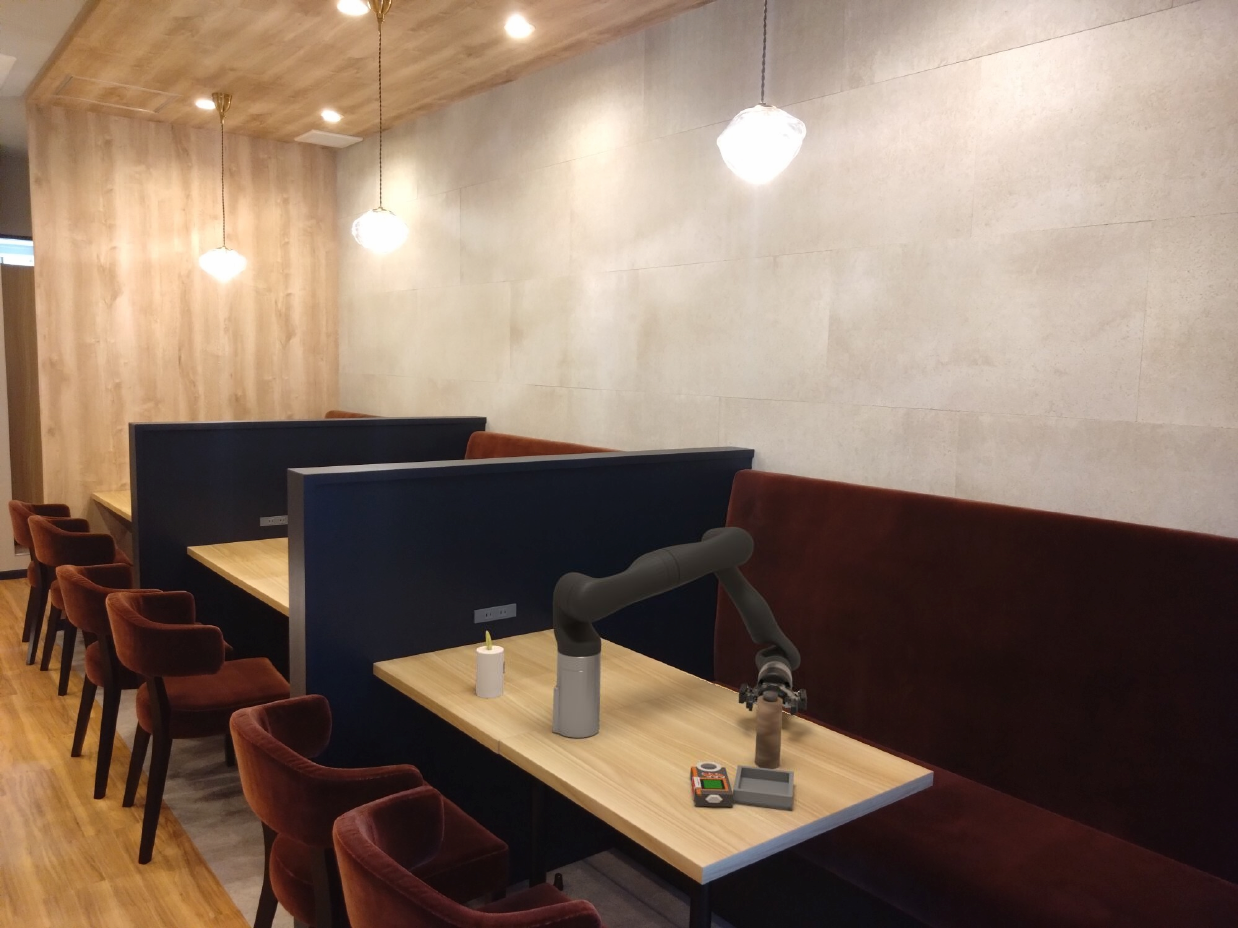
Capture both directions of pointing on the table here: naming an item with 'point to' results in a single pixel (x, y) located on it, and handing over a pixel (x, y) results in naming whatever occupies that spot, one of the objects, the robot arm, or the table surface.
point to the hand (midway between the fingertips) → (771, 708)
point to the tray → (763, 787)
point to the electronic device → (711, 785)
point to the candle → (489, 670)
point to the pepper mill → (768, 730)
